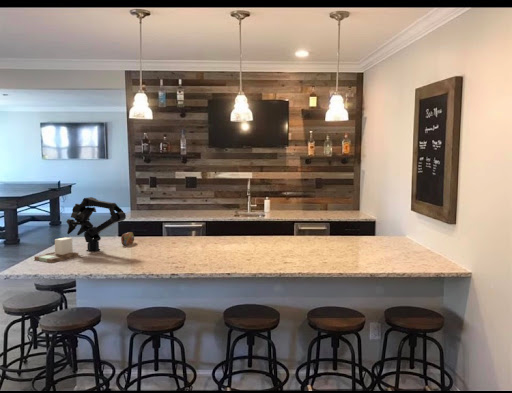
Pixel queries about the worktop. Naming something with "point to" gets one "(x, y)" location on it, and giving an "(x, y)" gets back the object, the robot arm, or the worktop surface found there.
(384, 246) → the worktop surface
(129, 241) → the tin
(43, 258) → the pad
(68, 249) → the cream block
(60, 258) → the trap board
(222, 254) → the worktop surface
